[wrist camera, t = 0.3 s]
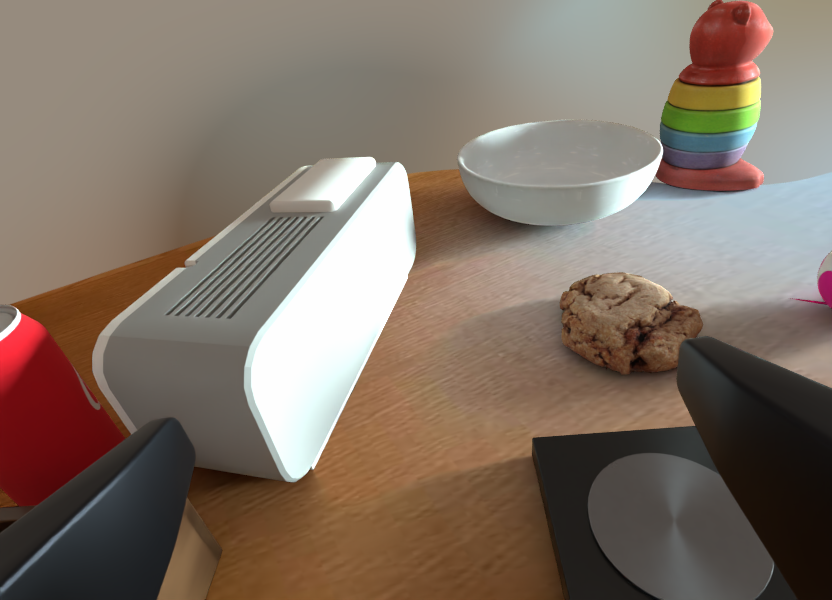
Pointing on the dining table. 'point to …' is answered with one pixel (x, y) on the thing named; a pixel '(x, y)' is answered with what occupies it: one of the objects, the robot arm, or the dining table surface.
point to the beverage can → (44, 413)
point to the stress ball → (825, 281)
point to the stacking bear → (716, 102)
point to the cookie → (626, 323)
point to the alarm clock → (268, 321)
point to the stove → (648, 520)
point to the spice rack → (188, 561)
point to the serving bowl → (559, 170)
